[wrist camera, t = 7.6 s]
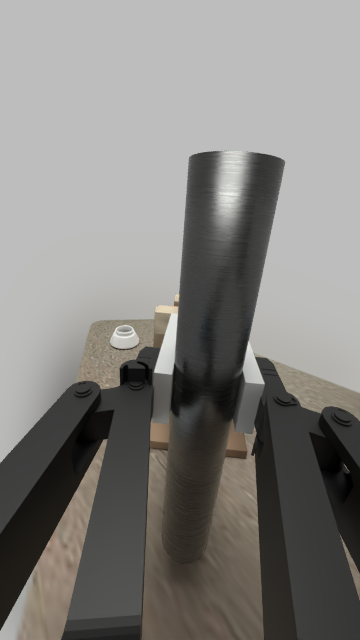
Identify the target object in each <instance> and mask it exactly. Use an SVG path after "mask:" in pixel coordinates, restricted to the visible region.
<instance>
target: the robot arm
mask: <svg viewBox="0 0 360 640" xmlns="http://www.w3.org/2000/svg"><path fill="white" fill-rule="evenodd" d="M177 318H178V314H174V313H171V316H170V319H169V323H168V326H167V330H166V333H165V336H164V340H163V343H162V346H161V348H154V347H145V348H143V349H142V350H141V351H140V352H139V354H138V357H137V359H136V360H130V361H127V362H125V363H124V364H122V365H121V367H120V386H118V387H115V388H110V389H102V390H100V386H99V385H98V384H97V383H95V382H92V381H82V382H78V383H76V384H73V385H72V386H70V387H69V388H68V389H67V390H66V391H65V393H63V394H62V396H61V397H60V398H59V399H58V400H57V401H56V402H55V403H54V404H53V406H52V407H51V408H50V409H49V410H48V411H47V412H46V413H45V414H44V416H43V417H42V418H41V419H40V420H39V421H38V422H37V423H36V424H35V425H34V427H33V428H32V429H31V430H30V431H29V432H28V433H27V434H26V435H25V436H24V438H23V439H22V440H21V441H20V442H19V443H18V444H17V445H16V446H15V447H14V449H13V450H12V451H11V452H10V453H9V454H8V455H7V456H6V457H5V459H4V460H3V461H2V462H1V463H0V630H1V628H2V627H3V625H4V623H5V621H6V619H7V617H8V616H9V614H10V612H11V610H12V608H13V606H14V604H15V603H16V601H17V599H18V597H19V595H20V593H21V591H22V590H23V588H24V586H25V584H26V582H27V580H28V579H29V577H30V575H31V573H32V571H33V569H34V567H35V566H36V564H37V562H38V560H39V558H40V556H41V554H42V553H43V551H44V549H45V547H46V545H47V543H48V542H49V540H50V538H51V536H52V534H53V532H54V530H55V529H56V527H57V525H58V523H59V521H60V519H61V517H62V516H63V514H64V512H65V510H66V508H67V506H68V505H69V503H70V501H71V499H72V497H73V495H74V493H75V492H76V490H77V488H78V486H79V484H80V482H81V480H82V479H83V477H84V475H85V473H86V471H87V469H88V468H89V466H90V464H91V462H92V460H93V458H94V456H95V455H96V453H97V451H98V449H99V447H100V445H101V443H102V441H103V440H104V439H108V441H107V445H106V450H105V454H104V458H103V463H102V467H101V472H100V476H99V480H98V485H97V489H96V494H95V498H94V502H93V507H92V511H91V516H90V520H89V524H88V529H87V533H86V538H85V542H84V546H83V551H82V555H81V560H80V564H79V569H78V573H77V577H76V582H75V586H74V591H73V595H72V599H71V604H70V608H69V613H68V617H67V621H66V625H65V629H64V633H63V636H62V639H61V640H141V638H142V615H143V592H144V568H145V545H146V522H147V499H148V476H149V453H150V429H151V420H152V423H160V424H169V419H170V412H171V402H172V388H173V374H174V360H175V346H176V332H177ZM233 422H234V428H235V432H239V433H247V434H252V433H253V429H254V425H255V428H256V432H257V434H256V438H255V442H254V445H253V449H252V454H251V455H253V456H254V453H255V463H256V483H257V504H258V524H259V544H260V564H261V584H262V604H263V624H264V640H360V600H359V597H358V594H357V590H356V587H355V584H354V580H353V577H352V574H351V571H350V567H349V564H348V561H347V557H346V554H345V551H344V547H343V544H342V541H341V537H342V539H343V541H344V543H345V545H346V547H347V549H348V551H349V553H350V555H351V557H352V559H353V561H354V563H355V565H356V567H357V569H358V571H359V573H360V421H359V420H358V419H357V418H356V417H355V416H354V415H352V414H351V413H349V412H347V411H346V410H343V409H341V408H338V407H332V406H331V407H325V408H324V409H323V410H322V413H321V414H320V413H317V412H314V411H311V410H308V409H306V408H303V407H301V405H300V403H299V401H298V400H297V399H296V398H295V397H294V396H293V395H291V394H289V393H288V392H286V390H285V387H284V385H283V383H282V381H281V379H280V377H279V375H278V373H277V371H276V369H275V366H274V364H273V363H272V362H271V361H269V360H268V359H267V358H260V357H255V356H254V354H253V351H252V348H251V346H250V343H249V341H248V346H247V351H246V356H245V361H244V366H243V370H242V375H241V380H240V385H239V390H238V395H237V400H236V405H235V409H234V414H233ZM344 464H345V465H346V467H347V469H348V470H349V471H348V470H347V469H346V467H345V466H344ZM339 533H340V534H339ZM340 535H341V537H340Z"/></svg>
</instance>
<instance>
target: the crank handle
mask: <svg viewBox="0 0 360 640" xmlns="http://www.w3.org/2000/svg"><path fill="white" fill-rule="evenodd" d="M284 166H285V161H284V160H282V159H281V158H278V157H275V156H271V155H267V154H260V153H253V152H240V151H213V152H203V153H198V154H194V155H192V156H191V157H189V166H188V167H189V168H188V180H187V195H186V208H185V222H184V235H183V249H182V264H181V277H180V292H179V304H178V318H177V332H176V346H175V360H174V374H173V388H172V402H171V415H170V429H169V443H168V456H167V470H166V484H165V498H164V512H163V525H162V542H163V546H164V548H165V550H166V552H167V554H168V555H169V556H170V557H171V558H172V559H173V560H174V561H176V562H178V563H181V564H190V563H193V562H195V561H197V560H198V559H199V558H200V557H201V556H202V555H203V553H204V551H205V549H206V546H207V541H208V536H209V531H210V526H211V522H212V517H213V512H214V507H215V502H216V497H217V492H218V487H219V483H220V478H221V473H222V468H223V463H224V458H225V453H226V448H227V444H228V439H229V434H230V429H231V424H232V419H233V414H234V409H235V405H236V400H237V395H238V390H239V385H240V380H241V375H242V370H243V366H244V361H245V356H246V351H247V346H248V341H249V336H250V331H251V326H252V322H253V316H254V312H255V307H256V302H257V297H258V292H259V287H260V282H261V278H262V273H263V268H264V263H265V258H266V253H267V248H268V243H269V239H270V234H271V229H272V224H273V219H274V214H275V209H276V204H277V200H278V195H279V190H280V185H281V180H282V175H283V170H284Z"/></svg>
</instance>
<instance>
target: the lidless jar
mask: <svg viewBox="0 0 360 640" xmlns="http://www.w3.org/2000/svg"><path fill="white" fill-rule="evenodd" d="M110 343H111V345H112V346H113V347H115V348H119V349H128V348H132V347H135V346H136V345H138V344H139V338H138V336H137V334H136V333H135V331H134V329H133V328H132V327H131V326H126V325H124V326H119V327H117V328H116V330H115V332H114V333H113V335H112V337H111V340H110Z"/></svg>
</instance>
